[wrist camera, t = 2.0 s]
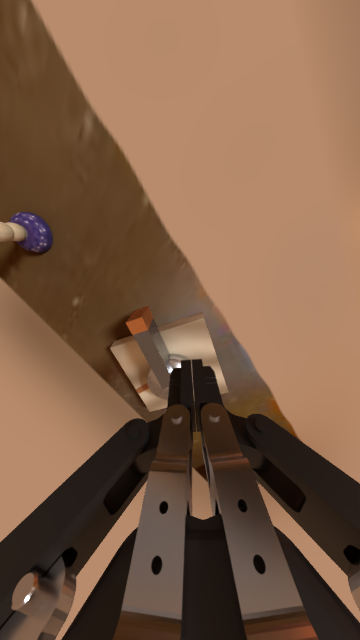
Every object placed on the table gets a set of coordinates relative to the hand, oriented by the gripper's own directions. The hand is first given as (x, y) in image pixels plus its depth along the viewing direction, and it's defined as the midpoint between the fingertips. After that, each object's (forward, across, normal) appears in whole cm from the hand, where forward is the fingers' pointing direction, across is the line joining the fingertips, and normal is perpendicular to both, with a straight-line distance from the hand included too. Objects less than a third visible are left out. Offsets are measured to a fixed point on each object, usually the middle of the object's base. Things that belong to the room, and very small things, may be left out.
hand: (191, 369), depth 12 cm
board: (+12, +3, +9) cm, 16 cm away
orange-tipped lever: (+10, +4, +6) cm, 12 cm away
